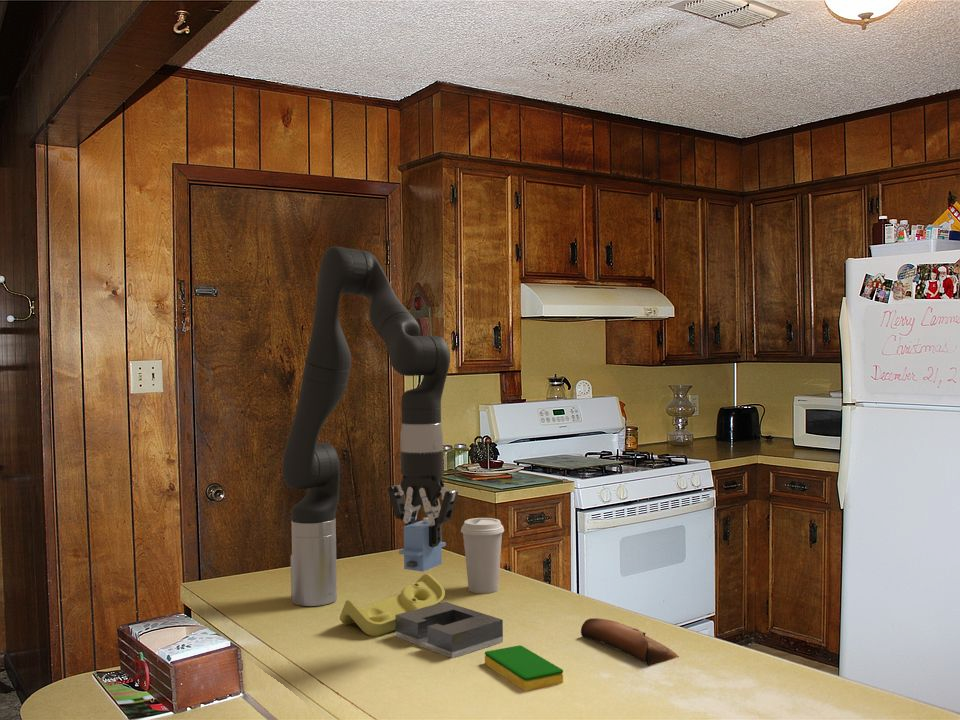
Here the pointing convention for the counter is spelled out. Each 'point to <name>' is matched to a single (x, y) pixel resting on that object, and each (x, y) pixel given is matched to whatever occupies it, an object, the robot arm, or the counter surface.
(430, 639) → the grey hollow block
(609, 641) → the sunglasses case
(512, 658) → the dish sponge
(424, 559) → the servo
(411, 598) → the plastic component
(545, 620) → the counter surface
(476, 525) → the coffee cup
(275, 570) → the counter surface
